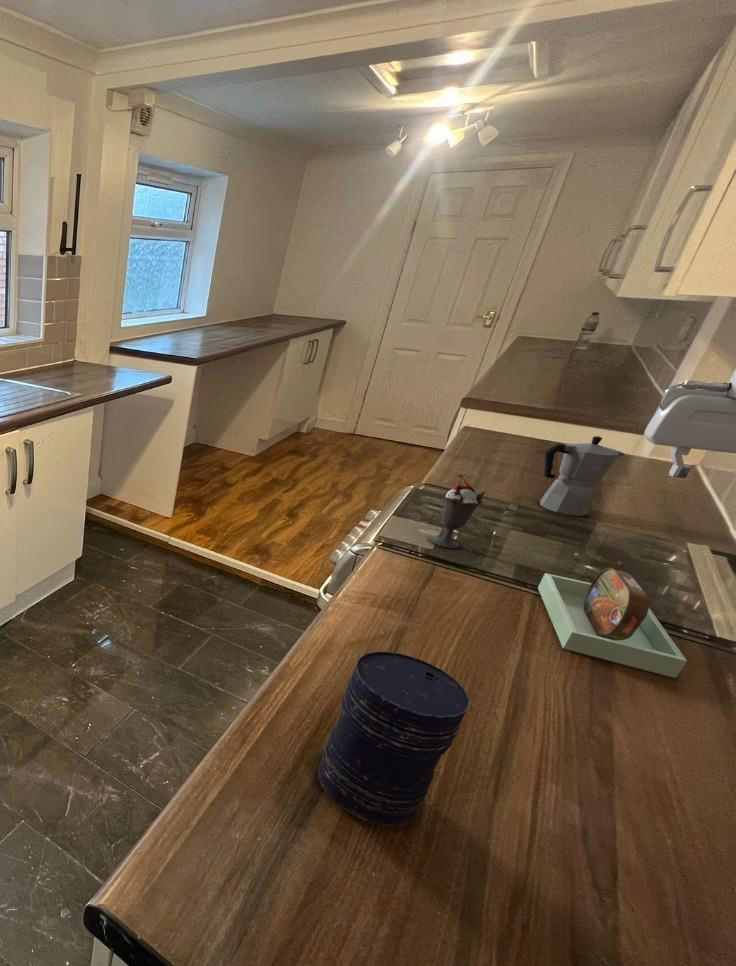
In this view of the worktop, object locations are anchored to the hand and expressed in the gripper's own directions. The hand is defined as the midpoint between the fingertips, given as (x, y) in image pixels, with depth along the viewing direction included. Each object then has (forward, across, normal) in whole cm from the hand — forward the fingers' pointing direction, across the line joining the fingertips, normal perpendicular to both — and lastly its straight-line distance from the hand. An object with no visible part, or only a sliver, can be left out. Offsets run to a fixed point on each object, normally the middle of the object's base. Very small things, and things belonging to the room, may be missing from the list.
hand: (721, 482), depth 85 cm
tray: (+24, -7, -6) cm, 26 cm away
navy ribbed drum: (+23, -38, -63) cm, 77 cm away
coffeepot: (+26, -1, +57) cm, 62 cm away
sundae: (+24, -26, +17) cm, 40 cm away
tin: (+24, -6, -6) cm, 26 cm away
